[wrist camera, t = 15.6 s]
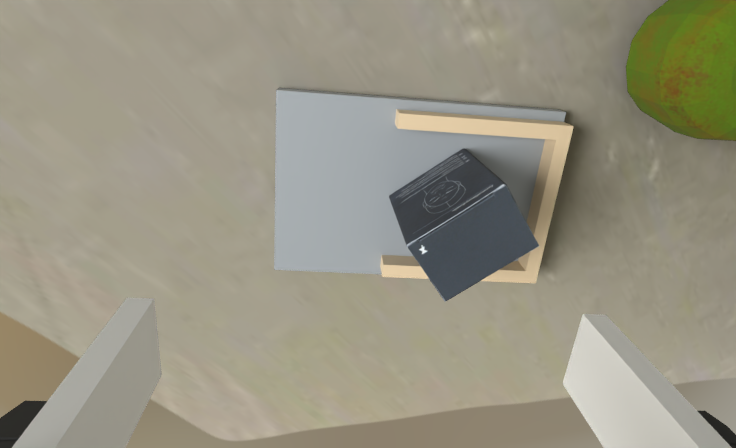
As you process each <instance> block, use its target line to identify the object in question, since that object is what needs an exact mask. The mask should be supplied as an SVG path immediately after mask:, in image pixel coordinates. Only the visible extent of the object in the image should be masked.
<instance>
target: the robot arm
mask: <svg viewBox="0 0 736 448" xmlns="http://www.w3.org/2000/svg"><path fill="white" fill-rule="evenodd" d="M161 375H162V373H161V363H160V352H159V342H158V332H157V321H156V311H155V301H154V299H153V298H126V299H125V301H124V302H123V303H122V305H121V306H120V307H119V309H118V310H117V311H116V313H115V314H114V315H113V316H112V318H111V319H110V320H109V322H108V323H107V324H106V326H105V327H104V328H103V329H102V331H101V332H100V333H99V335H98V336H97V337H96V339H95V340H94V341H93V342H92V344H91V345H90V346H89V348H88V349H87V350H86V352H85V353H84V354H83V355H82V357H81V358H80V359H79V361H78V362H77V363H76V365H75V366H74V367H73V369H72V370H71V371H70V373H69V374H68V375H67V377H66V378H65V379H64V380H63V382H62V383H61V384H60V385H59V387H58V388H57V390H56V391H55V392H54V393H53V395H52V396H51V397H50V399H49V400H48V401H24V402H23V403H21V404H20V405H18V406H17V407H15V408H14V409H13V410H11V411H10V412H8V413H7V414H5V415H4V416H3V417H1V418H0V448H126V446H127V444H128V442H129V440H130V438H131V436H132V433H133V432H134V430H135V427H136V425H137V423H138V421H139V419H140V417H141V415H142V413H143V411H144V409H145V407H146V405H147V403H148V401H149V399H150V397H151V395H152V393H153V391H154V389H155V387H156V385H157V383H158V381H159V379H160V377H161ZM563 385H564V386H565V388H566V390H567V391H568V393H569V394H570V396H571V397H572V399H573V400H574V402H575V404H576V405H577V407H578V408H579V410H580V411H581V413H582V414H583V416H584V418H585V419H586V420H587V422H588V424H589V425H590V427H591V428H592V430H593V432H594V433H595V435H596V436H597V438H598V439H599V441H600V442H601V444H602V446H603V447H604V448H736V435H735V434H734V433H733V432H732V431H731V430H730V429H729V428H728V427H727V426H726V425H724V424H723V423H722V422H720V421H719V420H717V419H716V418H714V417H713V416H712V415H710V414H709V413H707V412H706V411H697V410H696V409H695V408H694V407H693V406H692V405H691V404H690V403H689V402H688V401H687V400H686V399H685V398H684V397H683V396H682V395H681V394H680V392H679V391H678V390H677V389H676V388H675V387H674V386H673V385H672V384H671V383H670V382H669V381H668V380H667V379H666V378H665V377H664V376H663V374H662V373H661V372H660V371H659V370H658V369H657V368H656V367H655V366H654V365H653V364H652V363H651V362H650V361H649V360H648V359H647V358H646V357H645V355H644V354H643V353H642V352H641V351H640V350H639V349H638V348H637V347H636V346H635V345H634V344H633V343H632V342H631V341H630V340H629V339H628V338H627V337H626V335H625V334H624V333H623V332H622V331H621V330H620V329H619V328H618V327H617V326H616V325H615V324H614V323H613V322H612V321H611V320H610V319H609V318H608V316H607V315H598V314H583V316H582V319H581V322H580V326H579V329H578V333H577V336H576V340H575V343H574V346H573V350H572V353H571V357H570V360H569V363H568V367H567V370H566V374H565V377H564V381H563Z"/></svg>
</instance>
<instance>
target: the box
mask: <svg viewBox="0 0 736 448" xmlns="http://www.w3.org/2000/svg"><path fill="white" fill-rule="evenodd" d="M389 199H390V201H391V204H392V207H393V210H394V213H395V215H396V218H397V221H398V224H399V226H400V229H401V232H402V235H403V237H404V240H405V243H406V246H407V248H408V249H409V251H410V252H411V253H412V255H413V256H414V258H415V259H416V260H417V262H418V263H419V265H420V266H421V268H422V269H423V271H424V272H425V273H426V275H427V276H428V278H429V279H430V281H431V282H432V284H433V285H434V286H435V288H436V289H437V291H438V292H439V294H440V295H441V297H442V298H443V300H444V301H447V300H449V299H451V298H452V297H454V296H456V295H457V294H459V293H461V292H462V291H464V290H466V289H468V288H469V287H471V286H473V285H474V284H476V283H478V282H479V281H481V280H483V279H484V278H486V277H488V276H489V275H491V274H493V273H495V272H496V271H498V270H499V269H501V268H503V267H505V266H506V265H508V264H510V263H511V262H513V261H515V260H516V259H518V258H520V257H522V256H523V255H525V254H527V253H528V252H530V251H532V250H534V249H535V248H537V247H539V244H538V242H537V240H536V239H535V237H534V235H533V233H532V231H531V229H530V228H529V226H528V224H527V222H526V220H525V218H524V216H523V214H522V213H521V211H520V209H519V207H518V205H517V203H516V201H515V200H514V198H513V196H512V194H511V192H510V190H509V188H508V186H507V184H506V183H505V182H504V181H503V180H501V179H500V178H499V177H498V176H497V175H496V174H495V173H493V172H492V171H491V170H490V169H489V168H487V167H486V166H485V165H484V164H483V163H482V162H481V161H479V160H478V159H477V158H476V157H475V156H474V155H472V153H470V152H469V151H468V150H467V149H465V148H464V149H461V150H460V151H458V152H456V153H455V154H453V155H452V156H450V157H449V158H447V159H445V160H444V161H442V162H441V163H439V164H438V165H436V166H434V167H433V168H431V169H430V170H428V171H427V172H425V173H424V174H422V175H420V176H419V177H417V178H416V179H414V180H413V181H411V182H409V183H408V184H406V185H405V186H403V187H402V188H400V189H398V190H397V191H395V192H394V193H392V194H391V195H389Z"/></svg>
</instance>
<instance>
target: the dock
mask: <svg viewBox="0 0 736 448" xmlns="http://www.w3.org/2000/svg"><path fill="white" fill-rule="evenodd" d="M565 115H566V112H564V111H562V110H559V109H547V108H534V107H521V106H508V105H495V104H482V103H469V102H456V101H443V100H430V99H417V98H404V97H391V96H378V95H365V94H352V93H339V92H326V91H313V90H299V89H286V88H278V89H277V90H276V167H275V261H274V270H294V271H318V272H341V273H365V274H382V277H399V278H423V279H429V278H428V276H427V275H426V273H425V272H424V271H423V269H422V268H421V266H420V265H419V263H418V262H417V260H416V259H415V258H414V256H413V255H412V253H411V252H410V251H409V249H408V248H407V246H406V243H405V240H404V237H403V235H402V232H401V229H400V226H399V224H398V221H397V218H396V215H395V213H394V210H393V207H392V204H391V201H390V199H389V195H391V194H392V193H394V192H395V191H397V190H398V189H400V188H402V187H403V186H405V185H406V184H408V183H409V182H411V181H413V180H414V179H416V178H417V177H419V176H420V175H422V174H424V173H425V172H427V171H428V170H430V169H431V168H433V167H434V166H436V165H438V164H439V163H441V162H442V161H444V160H445V159H447V158H449V157H450V156H452V155H453V154H455V153H456V152H458V151H460V150H461V149H464V148H465V149H467V150H468V151H469V152H470V153H472V155H474V156H475V157H476V158H477V159H478V160H479V161H481V162H482V163H483V164H484V165H485V166H486V167H487V168H489V169H490V170H491V171H492V172H493V173H495V174H496V175H497V176H498V177H499V178H500V179H501V180H503V181H504V182H505V183H506V184H507V186H508V188H509V190H510V192H511V194H512V196H513V198H514V200H515V201H516V203H517V205H518V207H519V209H520V211H521V213H522V214H523V216H524V218H525V220H526V222H527V224H528V226H529V228H530V229H531V231H532V233H533V235H534V237H535V239H536V240H537V242H538V244H539V247H537V248H535V249H534V250H532V251H530V252H528V253H527V254H525V255H523V256H522V257H520V258H518V259H516V260H515V261H513V262H511V263H510V264H508V265H506V266H505V267H503V268H501V269H499V270H498V271H496V272H495V273H493V274H491V275H489V276H488V277H486V278H484V279H483V280H481V281H494V282H518V283H536V280H537V276H538V272H539V268H540V264H541V259H542V255H543V251H544V247H545V243H546V239H547V235H548V231H549V226H550V222H551V218H552V214H553V210H554V206H555V202H556V198H557V193H558V189H559V185H560V181H561V177H562V173H563V169H564V165H565V161H566V156H567V152H568V148H569V144H570V140H571V136H572V132H573V128H574V126H572V125H570V124H567V123H565V122H564V120H565Z"/></svg>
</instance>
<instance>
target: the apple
mask: <svg viewBox="0 0 736 448" xmlns="http://www.w3.org/2000/svg"><path fill="white" fill-rule="evenodd" d="M626 74H627V89H628V93H629V94H630V96H631V97H632V99H633V100H634V102H635V103H636V105H637V106H638V107H639V109H640V110H641V111H643V112H644V113H646V114H648V115H649V116H651V117H652V118H654V119H655V120H657V121H659V122H660V123H662V124H663V125H665V126H666V127H668V128H670V129H671V130H673V131H674V132H677V133H681V134H684V135H687V136H691V137H694V138H698V139H714V140H733V141H736V0H668V1H667V2H666V3H664V4H663V5H662V6H661V7H659V8H658V9H657V10H656V11H654V12H653V13H652V14H650V15H649V16H648V17H647V19H646V20H645V22H644V23H643V25H642V26H641V28H640V29H639V31H638V32H637V34H636V35H635V37H634V38H633V40H632V42H631V47H630V51H629V56H628V61H627V65H626Z"/></svg>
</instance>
